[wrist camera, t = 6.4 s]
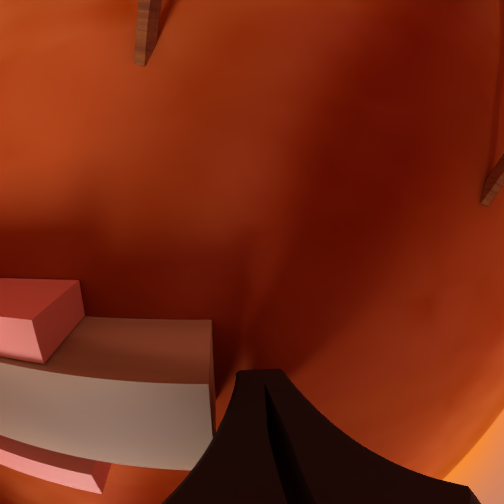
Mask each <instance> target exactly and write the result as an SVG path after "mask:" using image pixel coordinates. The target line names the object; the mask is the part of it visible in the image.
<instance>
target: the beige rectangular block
mask: <svg viewBox="0 0 504 504" xmlns="http://www.w3.org/2000/svg"><path fill="white" fill-rule="evenodd" d="M215 434H216V397H215V380H214V361H213V339H212V320H176V319H134V318H110V317H91V316H84V317H83V318H82V320H81V321H80V322H79V323H78V324H77V325H76V326H75V328H74V329H73V330H72V331H71V332H70V333H69V335H68V336H67V337H66V338H65V339H64V340H63V342H62V343H61V344H60V345H59V346H58V348H57V349H56V350H55V351H54V352H53V354H52V355H51V356H50V357H49V358H48V360H47V361H46V362H45V363H44V364H42V363H35V362H29V361H23V360H18V359H12V358H7V357H2V356H0V435H2V436H5V437H8V438H11V439H14V440H17V441H20V442H23V443H26V444H30V445H33V446H36V447H40V448H43V449H47V450H51V451H55V452H59V453H63V454H67V455H72V456H76V457H81V458H86V459H91V460H97V461H103V462H109V463H115V464H122V465H130V466H138V467H148V468H159V469H173V470H192V469H193V468H194V466H195V465H196V464H197V462H198V461H199V460H200V458H201V457H202V455H203V454H204V452H205V451H206V449H207V448H208V446H209V444H210V443H211V441H212V439H213V437H214V436H215Z"/></svg>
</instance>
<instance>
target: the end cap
mask: <svg viewBox="0 0 504 504" xmlns="http://www.w3.org/2000/svg"><path fill="white" fill-rule="evenodd" d="M84 316H85V312H84V306H83V300H82V294H81V288H80V282H79V280H58V279H20V278H0V356H2V357H7V358H12V359H18V360H23V361H29V362H35V363H42V364H44V363H45V362H46V361H47V360H48V358H49V357H50V356H51V355H52V354H53V352H54V351H55V350H56V349H57V348H58V346H59V345H60V344H61V343H62V342H63V340H64V339H65V338H66V337H67V336H68V335H69V333H70V332H71V331H72V330H73V329H74V328H75V326H76V325H77V324H78V323H79V322H80V321H81V320H82V318H83V317H84ZM0 464H2V465H4V466H7V467H9V468H12V469H14V470H17V471H20V472H23V473H26V474H28V475H31V476H34V477H37V478H41V479H44V480H47V481H50V482H54V483H57V484H61V485H65V486H69V487H73V488H77V489H81V490H85V491H90V492H94V493H99V494H102V493H103V489H104V486H105V483H106V479H107V476H108V473H109V469H110V466H111V463H109V462H103V461H97V460H91V459H86V458H81V457H76V456H72V455H67V454H63V453H59V452H55V451H51V450H47V449H43V448H40V447H36V446H33V445H30V444H26V443H23V442H20V441H17V440H14V439H11V438H8V437H5V436H2V435H0Z"/></svg>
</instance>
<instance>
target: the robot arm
mask: <svg viewBox="0 0 504 504" xmlns="http://www.w3.org/2000/svg"><path fill="white" fill-rule="evenodd" d="M162 504H481V503H480V502H479V500H478V499H477V497H476V496H475V495H474V493H473V492H472V491H471V489H470V488H469V487H468V486H464V485H459V484H455V483H451V482H447V481H443V480H439V479H435V478H431V477H428V476H425V475H423V474H420V473H417V472H414V471H412V470H409V469H407V468H404V467H402V466H400V465H397V464H395V463H393V462H391V461H389V460H387V459H385V458H383V457H381V456H379V455H378V454H376V453H374V452H372V451H370V450H369V449H367V448H365V447H364V446H362V445H361V444H359V443H358V442H356V441H355V440H353V439H352V438H350V437H349V436H348V435H346V434H345V433H344V432H342V431H341V430H340V429H339V428H337V427H336V426H335V425H334V424H333V423H331V422H330V421H329V420H328V419H327V418H326V417H325V416H323V415H322V414H321V413H320V412H319V411H318V410H317V409H316V408H315V407H314V406H313V405H312V404H311V403H310V402H309V401H308V400H307V399H306V398H305V397H304V396H303V394H302V393H301V392H300V391H299V390H298V389H297V388H296V387H295V385H294V384H293V383H292V382H291V381H290V379H289V378H288V377H287V376H286V374H285V373H284V372H283V371H282V370H281V369H265V370H241V371H238V372H237V373H236V381H235V386H234V390H233V394H232V397H231V400H230V403H229V405H228V408H227V410H226V413H225V415H224V418H223V420H222V422H221V424H220V426H219V428H218V430H217V432H216V434H215V436H214V437H213V439H212V441H211V443H210V444H209V446H208V448H207V449H206V451H205V452H204V454H203V455H202V457H201V458H200V460H199V461H198V462H197V464H196V465H195V466H194V468H193V469H192V470H191V472H190V473H189V474H188V476H187V477H186V478H185V479H184V481H183V482H182V483H181V484H180V485H179V486H178V487H177V488H176V489H175V491H174V492H173V493H172V494H171V495H170V496H169V497H168V498H167V499H166V500H165V501H164V502H163V503H162Z"/></svg>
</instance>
